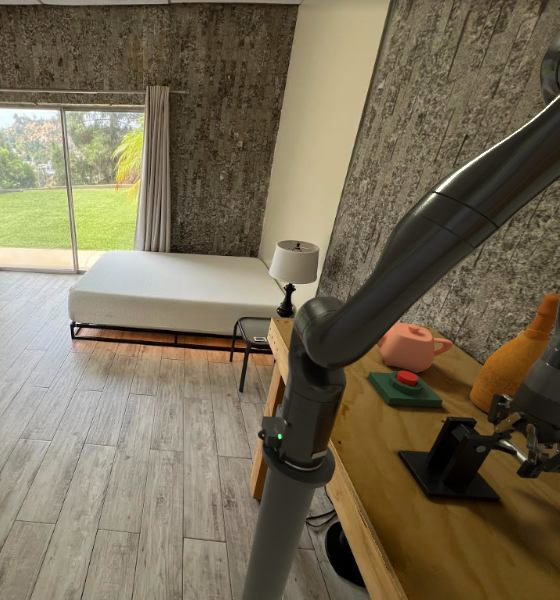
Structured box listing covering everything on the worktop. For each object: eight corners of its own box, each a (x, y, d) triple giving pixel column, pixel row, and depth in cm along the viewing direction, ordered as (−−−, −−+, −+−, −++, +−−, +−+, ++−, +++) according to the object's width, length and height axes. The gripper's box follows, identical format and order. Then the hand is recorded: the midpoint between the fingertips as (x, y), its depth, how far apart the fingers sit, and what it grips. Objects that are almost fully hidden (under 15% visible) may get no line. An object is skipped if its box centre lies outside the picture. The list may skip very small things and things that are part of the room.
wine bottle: (534, 418, 73) (612, 302, 61) (503, 426, 71) (576, 308, 58) (486, 390, 82) (545, 283, 69) (456, 397, 80) (512, 288, 67)
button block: (387, 404, 78) (392, 392, 76) (367, 378, 87) (371, 366, 85) (439, 407, 77) (446, 394, 75) (413, 380, 86) (418, 368, 84)
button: (402, 385, 79) (404, 380, 78) (392, 375, 82) (395, 370, 81) (419, 386, 78) (421, 381, 78) (409, 376, 82) (411, 370, 81)
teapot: (360, 340, 104) (370, 307, 99) (437, 359, 94) (453, 324, 89) (357, 361, 94) (369, 326, 88) (444, 385, 84) (462, 346, 79)
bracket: (459, 457, 64) (486, 410, 59) (498, 502, 56) (534, 452, 51) (397, 454, 65) (418, 407, 60) (426, 497, 57) (454, 447, 52)
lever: (501, 446, 59) (512, 437, 58) (527, 470, 55) (539, 461, 54) (445, 426, 59) (454, 417, 58) (466, 449, 54) (477, 439, 53)
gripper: (494, 361, 57) (457, 429, 64) (582, 422, 44) (524, 499, 52) (539, 363, 57) (496, 431, 64) (642, 425, 44) (574, 503, 51)
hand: (509, 461), depth 58 cm, fingers closed on lever, 5 cm apart
